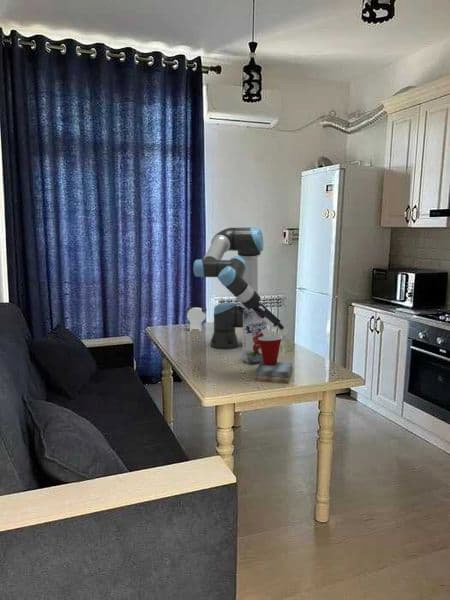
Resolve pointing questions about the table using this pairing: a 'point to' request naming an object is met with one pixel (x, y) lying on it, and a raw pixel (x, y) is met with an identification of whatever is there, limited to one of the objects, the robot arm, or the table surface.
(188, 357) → the table surface
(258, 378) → the build plate
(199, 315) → the white rounded piece
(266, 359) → the plastic cup
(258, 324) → the juice carton
